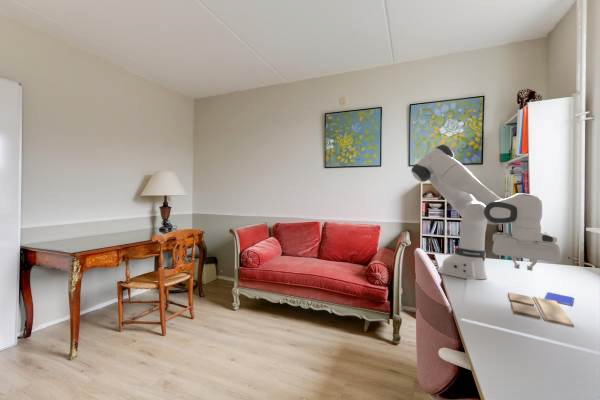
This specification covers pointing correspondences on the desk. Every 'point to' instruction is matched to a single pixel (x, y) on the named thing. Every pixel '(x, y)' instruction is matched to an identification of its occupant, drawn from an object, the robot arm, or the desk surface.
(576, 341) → the desk surface
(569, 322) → the laid board
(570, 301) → the hard drive
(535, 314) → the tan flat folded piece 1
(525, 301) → the plank
